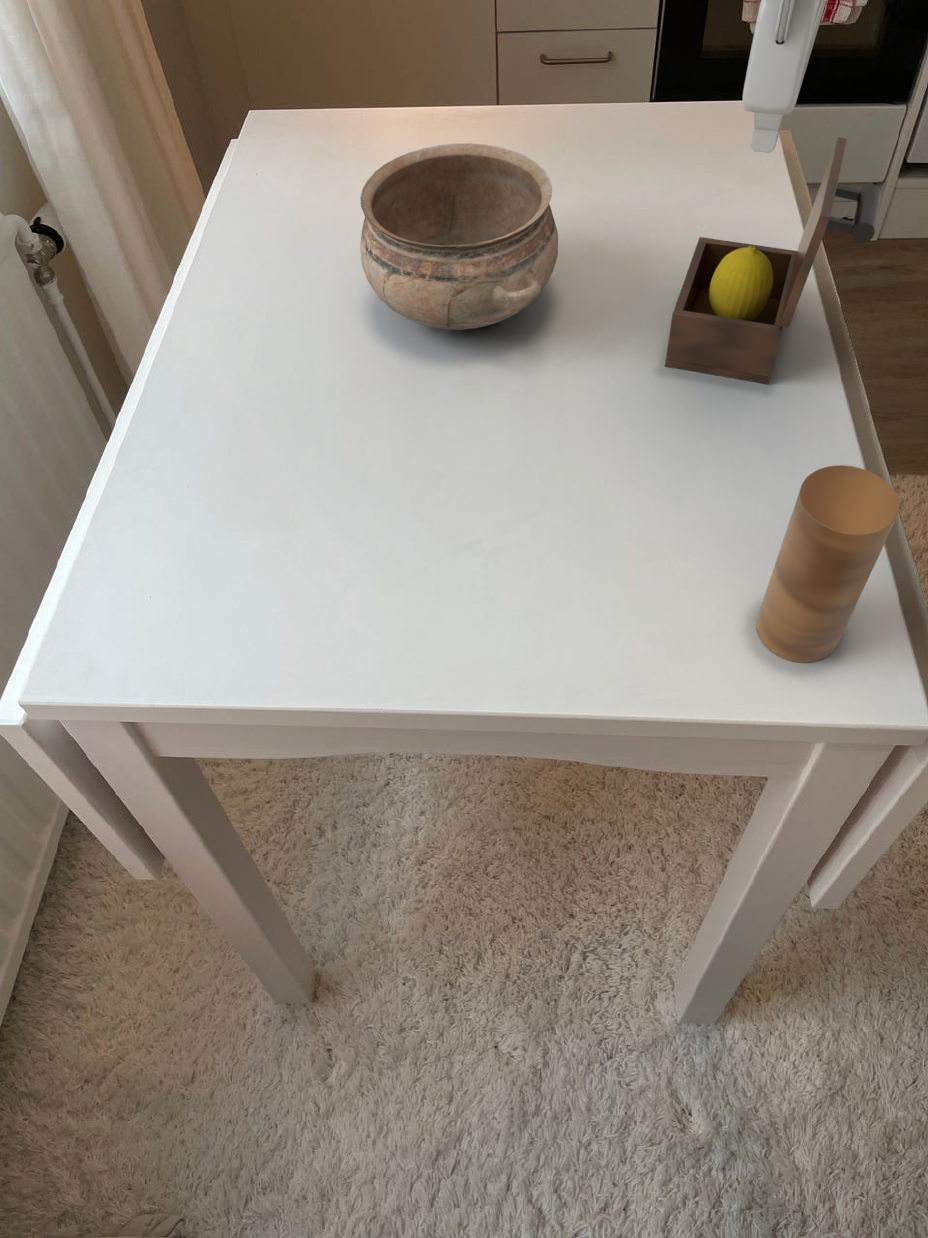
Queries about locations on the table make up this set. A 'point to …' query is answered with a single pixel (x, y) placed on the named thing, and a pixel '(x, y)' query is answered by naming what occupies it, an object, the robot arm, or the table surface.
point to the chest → (727, 319)
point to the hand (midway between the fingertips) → (772, 118)
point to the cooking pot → (458, 234)
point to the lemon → (741, 284)
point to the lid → (830, 224)
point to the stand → (825, 561)
